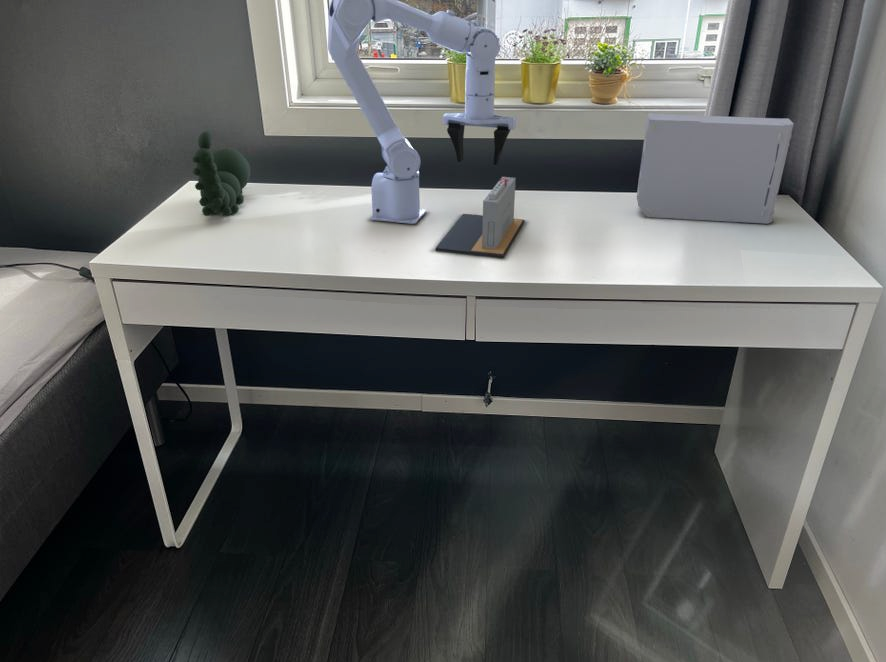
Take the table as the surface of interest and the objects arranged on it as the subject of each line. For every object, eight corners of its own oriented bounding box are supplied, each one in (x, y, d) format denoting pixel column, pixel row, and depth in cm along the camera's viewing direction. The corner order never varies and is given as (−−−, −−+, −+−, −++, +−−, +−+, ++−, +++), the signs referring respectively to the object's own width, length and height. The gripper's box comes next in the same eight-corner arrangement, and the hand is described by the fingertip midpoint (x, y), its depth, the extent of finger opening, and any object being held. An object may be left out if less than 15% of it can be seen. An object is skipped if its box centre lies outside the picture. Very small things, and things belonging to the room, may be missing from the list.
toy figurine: (238, 233, 154) (260, 185, 174) (223, 141, 143) (247, 102, 163) (191, 233, 153) (218, 185, 174) (172, 142, 142) (203, 102, 163)
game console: (773, 225, 154) (796, 125, 144) (636, 217, 158) (649, 119, 148) (767, 215, 159) (789, 118, 149) (635, 208, 163) (647, 113, 153)
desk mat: (435, 251, 142) (435, 247, 141) (463, 216, 158) (463, 213, 158) (503, 258, 138) (503, 255, 138) (524, 222, 155) (524, 219, 155)
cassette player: (500, 220, 154) (502, 171, 149) (513, 221, 153) (515, 172, 148) (481, 248, 141) (483, 195, 136) (496, 249, 140) (498, 197, 135)
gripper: (438, 95, 147) (438, 164, 154) (511, 99, 144) (508, 170, 151) (448, 88, 153) (448, 155, 160) (519, 92, 150) (515, 161, 157)
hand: (478, 162), depth 156 cm, fingers open, 7 cm apart
